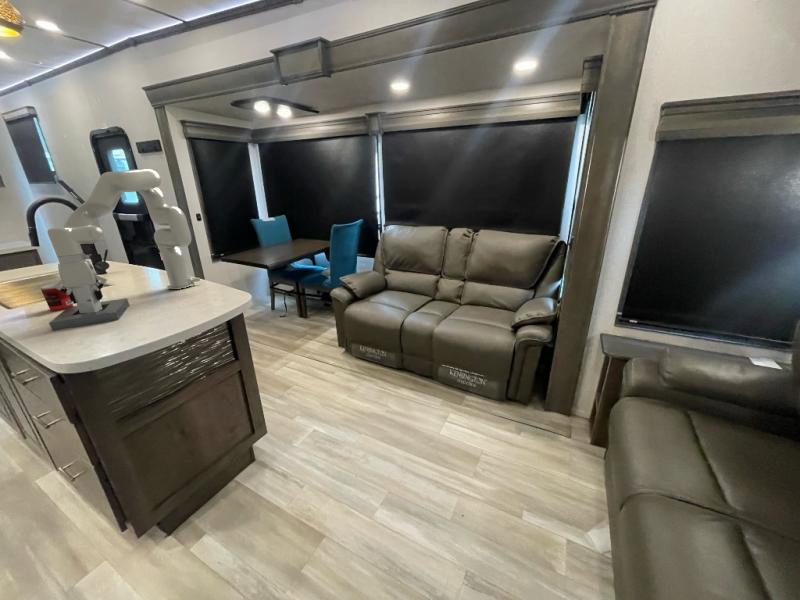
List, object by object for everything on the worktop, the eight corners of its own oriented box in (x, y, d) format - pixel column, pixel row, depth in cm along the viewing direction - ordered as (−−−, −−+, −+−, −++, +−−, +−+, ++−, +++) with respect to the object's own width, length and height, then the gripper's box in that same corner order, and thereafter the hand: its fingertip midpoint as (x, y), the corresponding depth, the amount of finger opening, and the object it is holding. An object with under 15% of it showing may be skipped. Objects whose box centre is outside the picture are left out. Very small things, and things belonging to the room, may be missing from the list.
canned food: (72, 304, 151) (63, 282, 147) (75, 307, 146) (65, 284, 142) (49, 308, 145) (39, 286, 141) (51, 312, 140) (40, 289, 136)
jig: (129, 305, 147) (127, 298, 146) (118, 319, 130) (115, 311, 129) (72, 314, 138) (68, 306, 137) (52, 331, 121) (48, 322, 120)
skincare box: (79, 313, 131) (68, 286, 126) (88, 310, 135) (77, 282, 131) (96, 312, 131) (85, 285, 127) (104, 308, 135) (94, 281, 131)
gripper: (103, 254, 132) (117, 294, 139) (46, 260, 125) (63, 302, 131) (97, 257, 126) (112, 299, 132) (37, 263, 118) (56, 307, 125)
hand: (88, 300), depth 131 cm, fingers closed on skincare box, 7 cm apart
